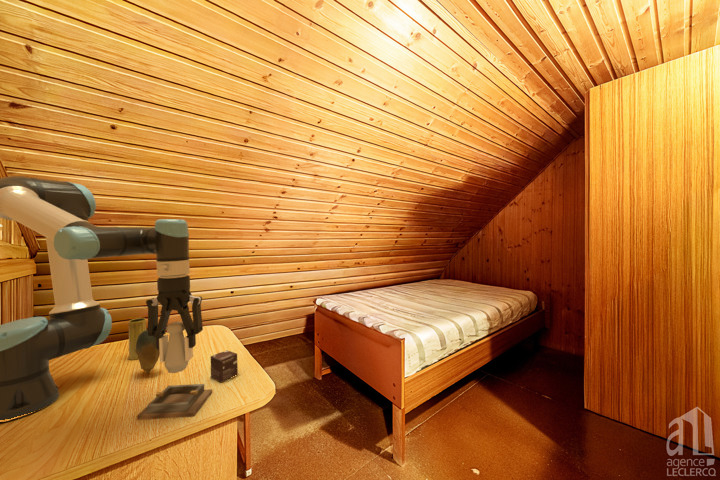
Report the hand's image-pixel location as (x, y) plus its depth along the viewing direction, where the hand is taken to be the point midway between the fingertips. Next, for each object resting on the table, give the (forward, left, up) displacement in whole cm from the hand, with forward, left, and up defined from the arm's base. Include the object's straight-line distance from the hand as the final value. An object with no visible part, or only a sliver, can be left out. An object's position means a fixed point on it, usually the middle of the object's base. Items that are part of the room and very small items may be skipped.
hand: (176, 359), depth 80 cm
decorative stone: (-19, +19, -13) cm, 30 cm away
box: (+7, +15, -13) cm, 21 cm away
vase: (-32, +34, -13) cm, 49 cm away
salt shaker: (0, 0, -3) cm, 3 cm away
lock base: (0, 0, -13) cm, 13 cm away
